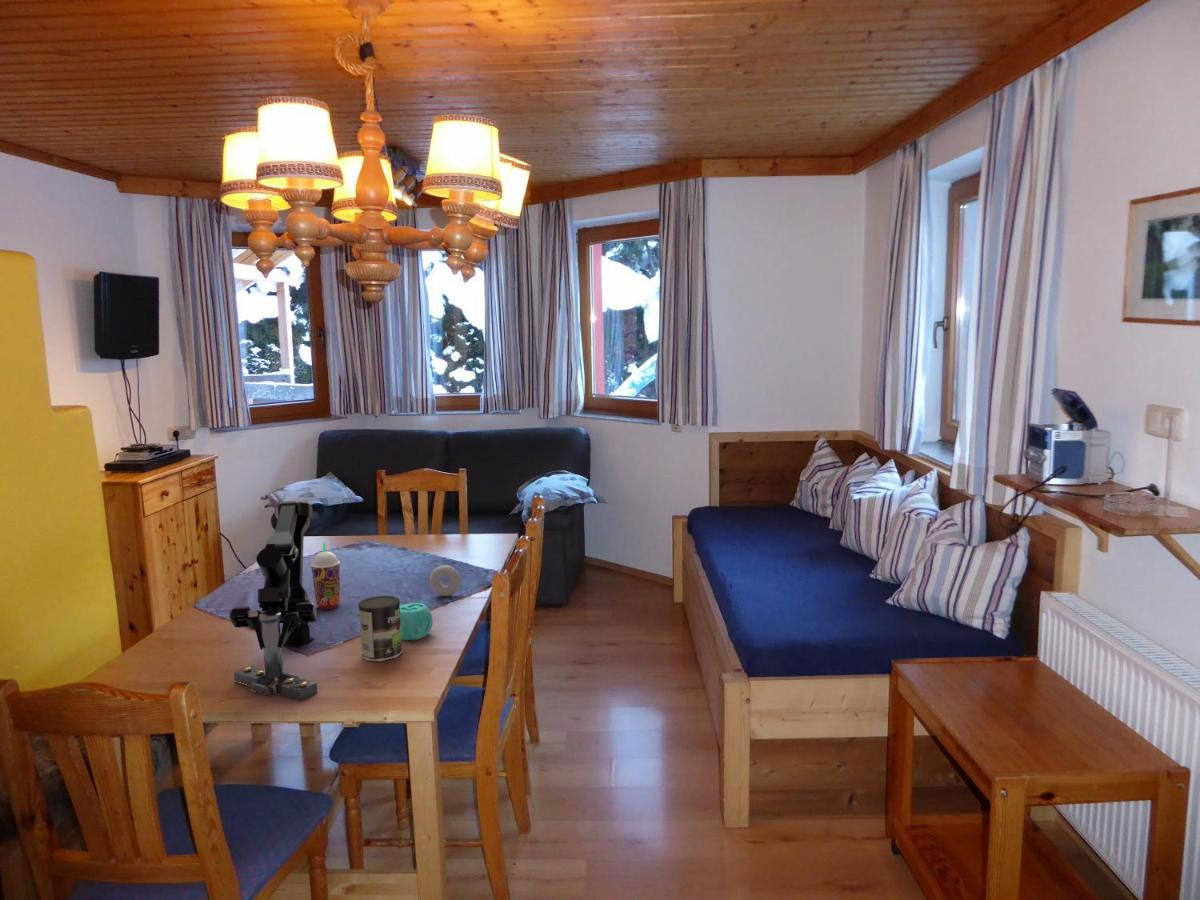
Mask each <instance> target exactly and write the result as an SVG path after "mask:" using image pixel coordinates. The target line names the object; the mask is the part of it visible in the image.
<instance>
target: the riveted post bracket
mask: <svg viewBox="0 0 1200 900" xmlns="http://www.w3.org/2000/svg"><path fill="white" fill-rule="evenodd" d="M233 676H234V677H233V678H234V682H235V681H237V682H241V683H244V684H247V685H250V686H251V687H250V688H251V691H252V690H253V691H256V692H260V693H262V694H261V695H263V694H266V695H269V696H268V697H270V696H271V697H273V696H274V687H275V694H276V695H277V694H279V695H278V696H281V695H282V696H281V697H284V696H285V698H289V699H291V700H296V701H298V702H301V701H303V700H305V699H307V698H309V697H312V696H313V695H315V694H318V683H317V682H315V681H312V680H308V679H304V678H300V677H299V676H297V675H295V674H290V673H286V672H283V675H282V676H280V677H277V678H276V680H277V679H278V680H277V681H280V680H281V681H280V682H278V683H275V685H274V687H270V686H268V683H269V684H271V683H273V682H275V681H276V680H275V678H267V677H265V668H262V667H259V666H255V665H252V664H251V665H248V666H244V667H243V668H242V669H240V670H237V671H234V672H233ZM272 681H273V682H272ZM270 682H271V683H270ZM265 684H267V685H265ZM253 691H252V692H253ZM256 692H255V693H256ZM260 693H259V694H260ZM266 695H265V696H266ZM272 695H273V696H272ZM311 695H312V696H311Z"/></svg>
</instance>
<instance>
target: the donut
mask: <svg viewBox="0 0 1200 900" xmlns="http://www.w3.org/2000/svg"><path fill="white" fill-rule="evenodd" d="M443 577H447V578H448V579H449V584H448V585H445V584H443V583H442V581H441V578H443ZM461 583H462V578H461V575H460V573H459V571H458V570H457V569H456V568H454V567H453V566H451V565H447V564H445V565H439V566H437V567H435V568H434V569H433V570H432V571H431V573H430V577H429V585H430V587H431V590H432V591H433V592H434V593H435V594H436V595H438V596H441V597H445V596H446V597H451V596H453V595H455V594H456V593H457V592H459V590H460V587H461Z"/></svg>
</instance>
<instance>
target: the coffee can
mask: <svg viewBox="0 0 1200 900" xmlns="http://www.w3.org/2000/svg"><path fill="white" fill-rule="evenodd" d="M400 603H401V600H400V598H399V597H396V596H392V595H378V596H371V597H368V598H364V599H362V600H360V601H359V602H358V610H359V624H360V625H359V629H360V642H361V643H360V644H361V657H362V659H363V660H365V661H367V662H385V660H387V661H390V660H389V659H391V660H393V659H392V658H394V659H396V658H399V655H400V654H401V653H402V654H403V643H402V639H401V625H400V606H401V605H400ZM402 654H401V655H402ZM401 655H400V656H401Z"/></svg>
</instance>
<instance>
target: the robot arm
mask: <svg viewBox="0 0 1200 900" xmlns="http://www.w3.org/2000/svg"><path fill="white" fill-rule="evenodd" d="M311 518H313V506H312V505H311V504H310V503H308V501H297V500H285V501H282V502H279V504H277V521H276V526H275V530H274V533H273V535H271V536H269V538H267V540H266V543H265V546H263V547H262V549H261V550H260V551H259V552H258V554H257V555H256V558H255V559H256V563H257V566H258V568H259V570H260V572H261V574H262V576H263V577H264V582H263V583H264V584H263V585H264V586H263V588H258V589H257V603H258V607H259V609H261V610H258V609H256V610H251V608H250V606H238V607H237V606H236V607H232V609H231V610H230V612H229V619H230V621H231V623H232V625H233V627H234V628H237V629H239V628H248V627H249V628H250V629H249V630H254V631H255V634H256V638H257V642H258V646H259V649H260V650H262V651H263V640H262V627H261V621H260V620H259V615H260V614H261V613H264V612H268V611H279V612H281V617H280V618H279V621H280V624H282V627H281V631H280V634H281V637H280V648H282V649H283V647H284V646H285V645H286V646H289V647H293V648H297V647H300V646H302V645H305V644H307V643H309V642H311V641H314V640H315V638H314V637H313V636H311V632H310V625H309V623H314V622H316V621H317V610H316V606H315V604H314V603H313V602H312V601H311V600H310V598H309V595H308V593H307V591H306V590H305V587H304V586H303V572H304V570H303V565H304V564H303V563H304V534H306V532H307V530H308V529H309V527H310V525H311Z"/></svg>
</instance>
